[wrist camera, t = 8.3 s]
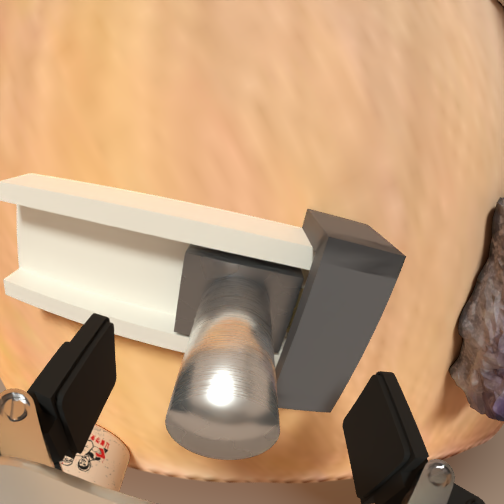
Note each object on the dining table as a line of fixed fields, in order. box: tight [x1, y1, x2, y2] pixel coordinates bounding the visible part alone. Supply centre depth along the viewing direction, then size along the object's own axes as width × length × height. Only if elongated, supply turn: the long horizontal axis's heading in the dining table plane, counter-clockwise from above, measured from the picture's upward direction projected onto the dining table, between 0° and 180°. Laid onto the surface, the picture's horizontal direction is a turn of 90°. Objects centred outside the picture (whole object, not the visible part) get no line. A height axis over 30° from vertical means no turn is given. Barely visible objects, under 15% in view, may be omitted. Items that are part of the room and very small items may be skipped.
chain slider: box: [165, 244, 304, 460], centre depth 13 cm, size 10×5×10 cm, turn 77°
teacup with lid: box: [60, 424, 130, 492], centre depth 22 cm, size 12×9×12 cm
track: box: [0, 173, 406, 412], centre depth 17 cm, size 24×10×6 cm, turn 77°
